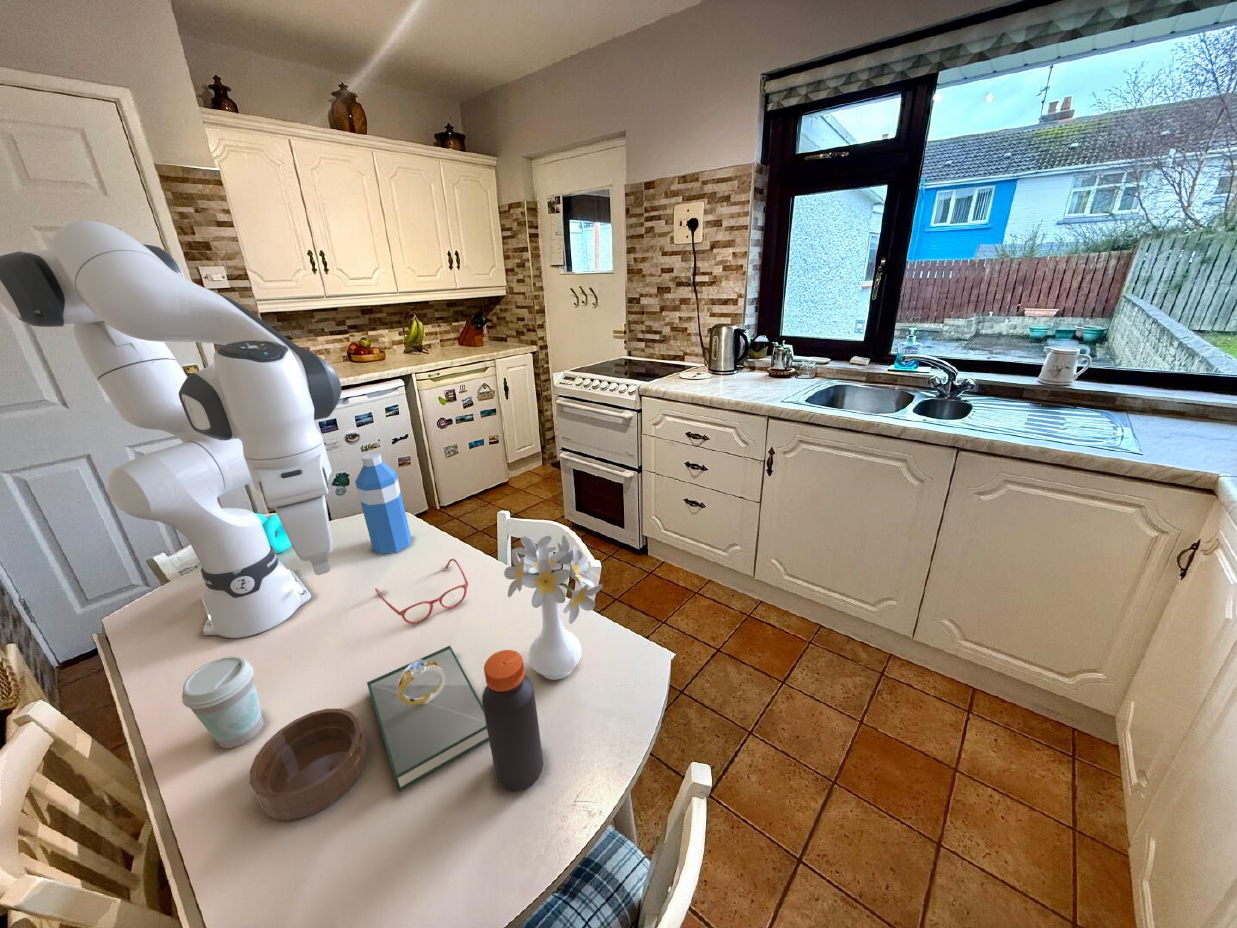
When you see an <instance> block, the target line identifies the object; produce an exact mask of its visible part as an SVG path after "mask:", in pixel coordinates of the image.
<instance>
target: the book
mask: <svg viewBox="0 0 1237 928" xmlns="http://www.w3.org/2000/svg"><path fill="white" fill-rule="evenodd" d="M420 659H421V660H423V661H425V660H427V661H432V662H436V663H438V664H439V665H440V666H441V667H442V668H443V670H444V673H445V678H446V681H445V685H444V687H443V689H442V691H441V692H440V693H439V694H438V695H437V696H436V697H435V698H433V699H432V700H430V701H429V702H428V703H427V704H424V703H423V704H418V705H409V704H405V703H403V702H402V701H401V700H400V698H399V695H398V681H399V678H400V676H401V674H402V673H403V672H404V670H405V669H406V668H407V667H408V666H409V665H410V664H411V663H412V662H410V663H408V664H405V665H403V666H400V667H399V668H397V669H394V670H392V671H390V672H387V673H385V674H383V675H380V676H379V677H376V678H374V679H372V680H369V681H367V682H366V684H367V688H368V691H369V694H370V699H371V702H372V706H373V708H374V713H375V716H376V719H377V722H378V726H379V729H380V733H381V736H382V739H383V743H384V746H385V750H386V753H387V757H388V760H389V763H390V767H391V771H392V773H393V776H394V780H395V784H396V787H397V790H398V792H401V791H403V790H404V789H406V788H408V787H411V785H413V784H415V783H417V782H418V781H420V780H423V779H424V778H425V777H427V776H429V775H430V774H432V773H434V772H436V771H438V770H440V769H441V768H443V767H444V766H447V765H448V764H450V763H452V762H453V761H455V760H457V759H459V758H461V757H462V756H464V755H466V754H467V753H469V752H471V751H472V750H474V749H476V748H478V747H479V746H482V745H484V744H485V743H487V742H489V737H488V732H487V726H486V721H485V716H484V710H483V705H482V701H481V700H480V698H479V696H478V694H477V693H476V691H475V688H474V687H473V685H472V683H471V681H470V679H469V678H468V676H467V674H466V672H465V670H464V669H463V667H462V665H461V663H460V661H459V659H458V657H457V656H456V654H455V652H454V650H453V648H452V645H448V646H446V647H444V648H441V649H438V650H437V651H434V652H432V653H430V654H428V655H426V656H423V657H421V658H420ZM410 676H411V674H410V675H407V676H406V678H405V679H404V680H406V679H407V678H408V677H410ZM439 682H440V674H439V673H438V672H437V671H435V670H430V671H427V672H425V673H423V674H421V675H419V676H416V677H415V678H414V679H413V680H412V681H411V682H410V683H409V684H408V685H407V687H406V688H405V690H404V693H403V694H404V695H405V696H407V697H409V698H421V697H422V696H423V695H425V694H430V693H432V692H433V691H434V690H435V689H436V688H437V686H438V685H439Z"/></svg>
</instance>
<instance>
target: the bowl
mask: <svg viewBox="0 0 1237 928" xmlns="http://www.w3.org/2000/svg"><path fill="white" fill-rule="evenodd" d="M367 755H368V745H367V740H366V738H365V735H364V731H363V729H362V726H361V722H360V720H359V718H358V717H357V716H356V715H355V714H354V713H353V712H352V711H349V710H346V709H344V708H324V709H319V710H316V711H311V712H309V713H306V714H305V715H303V716H300V717H297V718H295V719H294V720H293V721H291V722H289V723H288V724H286V725H285V726H283V727H281V728H280V729H279V730H278V731H276V733H275V734H274V735H273V736H271V737H270V738H269V739H268V740H267V741H266V742H264V744H263V746H262V747H261V749H260V750H259V751H258V752H257V753H256V755H255V757H254V759H253V761H252V764H251V766H250V769H249V785H250V787H251V790H252V792H253V794H254V796H255V798H256V800H257V801H258V804H259V806H260V808H261V809H262V810H263V812H264V814H265V815H267V816H269V817H271V818H273V819H275V820H279V821H281V820H282V821H286V820H297V819H301V818H304V817H307V816H308V817H309V816H311V815H313V814H316V813H317V812H319V811H321V810H322V809H325V808H326V807H328V806H330V805H332V804H333V802H335V801H337V799H339V798H340V797H341V796H342V795H343V794H344V793H346V792H347V791H348V790H349V789H350V787H352V785H353V784H354V782H356V780H357V779H358V778H359V776H360V774H361V773H362V770H363V768H364V766H365V764H366V762H367V761H366V760H367V757H368V756H367Z"/></svg>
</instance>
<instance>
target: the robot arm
mask: <svg viewBox="0 0 1237 928" xmlns="http://www.w3.org/2000/svg"><path fill="white" fill-rule="evenodd" d="M0 305H2V306H3V307H4V308H5V309H6V310H7V311H9V312H10V313H11V314H12V315H14V316H15V317H16V318H17V319H18V320H19V321H21V322H24V323H26V324H28V325H30V326H32V327H40V328H41V327H43V328H55V327H56V328H59V327H64V325H73V326H72V330H73V334H74V337H75V340H76V342H77V346H78V347H79V350H80V352H81V354H82V357H83V359H84V361H85V362H86V364H87V366H88V368H89V370H90V371H91V373H92V374H93V376H94V378H95V379H96V381H97V383H98V384H99V385H100V387H101V388H102V390H103V391H104V393H105V394H106V396H107V397H108V399H109V401H110V402H111V404H112V405H113V406H114V408H115V409H116V411H117V412H118V414H119V416H120V417H121V418H122V419H123V420H124V421H126V422H127V423H129V424H130V425H132V426H135V427H137V428H139V429H140V428H141V429H147V430H156V431H162V432H165V433H168V434H170V435H173V436H174V437H176V438H177V439H179V440H180V441H181V442H182V443H179V444H175V445H171V446H169V447H165V448H161V449H158V450H155V451H151V452H147V453H144V454H142V455H140V456H137V457H135V458H134V459H131V460H129V461H127V462H125V463H123V464H121V465H119V466H117V467H116V468H113V470H112V471H110V474H109V476H108V480H107V492H108V493H107V494H108V496H109V498H110V500H111V502H112V503H113V505H114V506H116V508H118V509H119V510H120V511H122V512H123V513H125V514H127V515H128V516H130V517H134V518H137V519H141V520H147V521H154V522H159V523H162V524H165V525H168V526H169V527H172V528H174V529H175V530H177V531H178V532H180V533H181V534H182V535H183V537H185V539H186V540H187V541H188V543H189V544H190V546H191V548H192V550H193V552H194V554H195V555H196V557H197V560H198V562H199V564H200V566H201V568H200V574H201V577H202V580H203V582H204V583H205V585H206V587H207V588H206V589H205V591H204V593H203V595H202V596H201V601H202V604H203V607H204V609H205V612H206V614H207V619H206V622H205V623H204V624H203V627H202V634H203V635H204V636H221V637H223V638H226V639H227V638H229V639H240V638H246V637H251V636H255V635H258V634H261V633H263V632H266V631H268V630H271V629H273V628H275V627H276V626H279V625H280V624H282V623H284V622H285V621H286V620H287V619H289V618H290V617H291V616H293V615H294V613H295V612H296V611H297V610H298V609H299V608H300V607H301V606H303V605H305V604H306V603H307V602H308V601H310V600H311V599H312V595H311V593H310V591H309V590H308V589H307V587H306V586H305V585H304V583H303V582H302V581H301V580H300V578H299V577H298V575H297V574H296V573H295V571H293V569H287V568H286V566H285V565H284V564H283V563H282V562H281V561H280V560H279V558H278V555H277V553H276V552H275V550H274V549H273V547H272V546H271V545H269V542H268V540H267V537H266V534H265V531H264V528H263V526H262V523H261V520H260V518H259V517H258V516H257V515H256V514H255V513H256V512H253V511H251V510H249V509H247V508H240V507H221V505H220V503H219V501H218V498H219V497H221V496H222V495H224V494H227V493H229V492H232V491H235V490H237V489H240V488H242V487H244V486H247V485H250V484H253V487H254V488H255V490H256V491H257V492H259V493H260V494H261V495H262V496H263V498H264V501H265V504H266V505H267V508H269V509H274V510H275V513H276V514H277V515H278V517H279V520H280V522H281V524H282V526H283V528H284V530H285V532H286V534H287V536H288V538H289V540H290V543H291V546H292V549H293V550H294V553H295V554H296V556H297V557H298V558H299V560H300V561H302V562H307V561H309V562H310V564H311V566H312V568H313V571H314V573H315V575H317V576H321V575H324V574H328V573H330V571H331V566H330V562H329V559H328V558H329V557H328V555H330V554H331V553H332V552H333V537H332V531H331V525H330V518H329V515H328V514H329V512H328V505H327V499H326V496H327V495H328V494H329V493H330V492H329V479H330V476H331V475H332V472H333V470H332V467H331V462H330V459H329V456H328V452H327V448H326V445H325V441H324V438H323V436H322V434H321V432H320V431H319V430H318V428H317V425H316V422H315V421H317V420H322V419H326V418H329V417H330V416H331V415H332V413H333V412H334V411H335V409H336V407H337V406H338V404H339V402H340V400H341V395H342V384H341V381H340V378H339V376H338V374H337V372H336V370H335V369H334V368H333V366H331V364H330V363H328V362H327V361H326V360H325V359H323V358H322V357H320V356H319V355H317V354H315V353H314V352H312V351H311V350H309V349H305V348H304V347H301V346H299V345H298V344H296V343H294V342H293V341H292V340H291V339H289V338H287V337H286V336H285V335H284V334H282V333H280V331H278V330H276V329H275V328H274V327H272V326H271V325H269V324H268V323H267V322H266V321H265V320H263V319H261V318H260V317H258V316H257V315H256V314H254V313H253V312H252V311H250V310H249V309H247V307H245V306H244V305H242V304H241V303H239V302H237V301H236V300H234V299H233V298H231V297H229V296H226V295H224V294H221V293H218V292H216V291H213V290H210V289H208V288H206V287H203V286H201V285H199V284H197V283H195V282H194V281H191V280H190V279H187V278H186V277H185V274H184V273H183V271H182V269H181V267H180V266H179V265H178V263H177V262H176V260H175V259H174V258H173V257H172V255H171V254H170V253H168V252H167V251H165V250H164V249H163V248H161V247H159V246H156V245H151V244H145V243H141V242H140V241H139V240H137V239H136V238H134V237H133V236H132V235H130V234H128V233H127V232H125V231H123V230H121V229H120V228H118V227H116V226H114V225H112V224H109V223H105V222H102V221H97V220H96V221H95V220H79V221H74V222H73V221H72V222H71V223H68V224H66V225H64V226H62V227H61V228H59V229H58V230H57V231H56V233H55V234H54V235H53V237H52V242H51V248H49V249H41V250H37V251H31V252H24V251H21V250H20V251H15V252H11V253H6V254H3V255H0ZM167 343H201V344H202V343H203V344H204V343H205V344H214V345H221V346H220V347H218V348H217V349H216V350H215V351H214V353H213V363H211V364H210V365H208V366H206V367H204V368H202V369H200V370H197V371H195V372H191V373H190V374H189V375H187V374H186V373H185V371H184V369H183V368H182V366H181V365H180V364H179V361H178V360H177V358H176V357H175V355H174V354H173V353H172V351H171V350H170V348H169V347H168V345H167Z"/></svg>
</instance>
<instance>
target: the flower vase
mask: <svg viewBox="0 0 1237 928" xmlns="http://www.w3.org/2000/svg"><path fill="white" fill-rule="evenodd" d="M551 541H552V536H551V535H546V536H544V537H543V536H542V538H540V539H539V540H538V541H537V542H536V543H535V541H534V540H533V539H532V538H531V537H530V536H529V537H528V536H522V537H520V542H521V544H522V546H523V547H515V548H513V549H512V550H511V560H512V561H511V562H512V564H513V566H507V567H506V568H505V569H504V570H503V576H504V577H505V579H507V580H512V581H511V583H510V585H509V587H508V591H507V597H508V598H511V597H512V596H513V595H514V593H515V591H516V590H517V591H518V592H521V591H522V588H523V586H524V587H526V588H529V589H535V590H534V592H533V594H532V597H531V606H532V607H533V608H535V609H537V608H539V607H541V617H542V619H541V620H542V628H541V630H540V633H539V634H538V635H537V636H536V637H535V638H534V639H533V641H532V643H531V644H530V646H529V650H528V662H529V665H530V666H531V668H532V669H533V670H534V671H535V672H536V673H537V674H539V675H541V676H542V677H543V678H545V679H547V680H551V681H557V680H562V679H564V678H566V677H567V676H569V675H570V674H571V672H572V671H573V670H574V669H575V668H576V666H578V664H579V663H580V660H581V658H582V651H583V650H582V646H581V642H580V640H579V639H578V637H577V636H576V635H575V634H574V633H573V632H571V631H569V630H567V629H566V628H565V626H564V624H563V620H562V614H561V606H560V604H563V603H565V602H566V595H565V592H564V591H563V590H562V588H561V587H564V588H566V589H567V590H568V591H569V592H570V594H571V597H570V599H569V601H568V602H567V604H566V606H565V607H564V609H563V614H567V613H569V617H568V624H569V625H572V624H573V623H574V622H575V621H576V620H577V618H578V616H579V614H580V608H581V609H582V610H584V611H586V612H588V611H589V612H590V611H593V610H594V609H595V607H596V602H595V601H594V599H593V598H591V597H592V596H594V595H596V594H597V593H599V592H600V591H601V590H602V588H603V584H598V585H595V583H594V582H593V580H592V579H591V578H590V576H589V575H587V574H586V573H587V570H588V568H589V561H588V558H586V557H584V554H583V553H582V552H581V551H580V550H578V549H577V547H576V546H575V545H574V546H573V547H572V550H570V544H569V543H570V542H569V540H568V538H567V537H566V536H565V535H562V536H561V543H559V542H556V545H557V547H556V546H549V544H550V542H551ZM557 548H558V551H556V549H557ZM554 551H556V552H555V553H553V554H552V555H550V553H551V552H554ZM518 554H519V555H523V556H522V557H519V555H518ZM526 565H527V566H529V567H530V568H529V569H528V570H527V568H526ZM563 565H564V566H567V567H569V569H565V568H564V569H563ZM569 578H572V579H573V580H574V581H575V582H576V583H577V584H578V585H579V586H580V587H581V588H579V589H578V590H576V591H575V590H574V589H573V588H571V586H570V585H568V584H566V583H564V582H566V581H567V580H568V579H569Z"/></svg>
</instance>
